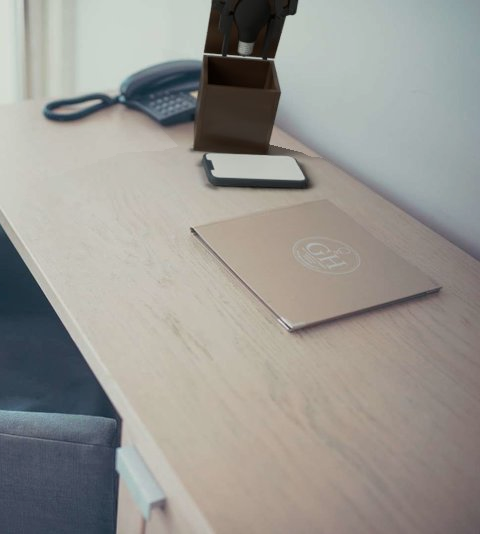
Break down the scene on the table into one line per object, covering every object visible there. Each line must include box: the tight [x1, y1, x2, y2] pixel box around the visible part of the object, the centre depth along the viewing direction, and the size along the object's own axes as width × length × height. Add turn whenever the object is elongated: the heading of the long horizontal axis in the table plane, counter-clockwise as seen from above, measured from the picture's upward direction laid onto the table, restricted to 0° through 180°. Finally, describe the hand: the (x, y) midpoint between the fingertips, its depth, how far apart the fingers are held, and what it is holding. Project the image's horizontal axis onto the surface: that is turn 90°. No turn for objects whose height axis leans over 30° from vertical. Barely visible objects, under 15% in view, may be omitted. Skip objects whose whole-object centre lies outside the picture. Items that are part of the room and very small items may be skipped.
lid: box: [203, 0, 288, 60], centre depth 112 cm, size 15×13×9 cm
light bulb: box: [233, 0, 271, 58], centre depth 104 cm, size 6×6×10 cm
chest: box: [192, 54, 282, 155], centre depth 114 cm, size 15×13×12 cm
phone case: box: [201, 152, 308, 189], centre depth 106 cm, size 9×2×16 cm
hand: (244, 54), depth 107 cm, fingers closed on light bulb, 6 cm apart
